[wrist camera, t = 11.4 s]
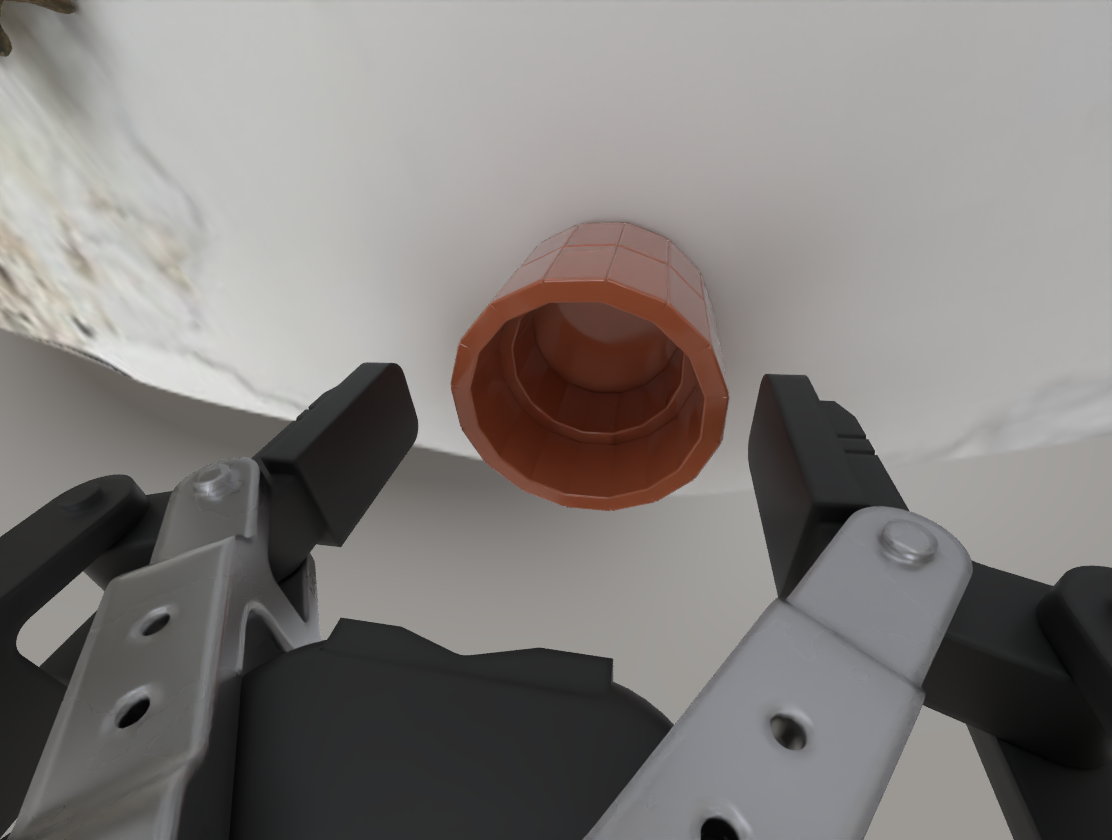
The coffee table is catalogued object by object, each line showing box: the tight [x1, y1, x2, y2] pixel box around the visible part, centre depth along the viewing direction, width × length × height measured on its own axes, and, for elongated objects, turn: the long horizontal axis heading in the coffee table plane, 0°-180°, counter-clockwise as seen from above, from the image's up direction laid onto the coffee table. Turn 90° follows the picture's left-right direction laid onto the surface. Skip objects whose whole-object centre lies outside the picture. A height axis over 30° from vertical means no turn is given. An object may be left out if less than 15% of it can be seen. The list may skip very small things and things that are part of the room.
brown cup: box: [451, 222, 729, 511], centre depth 12 cm, size 6×6×5 cm
